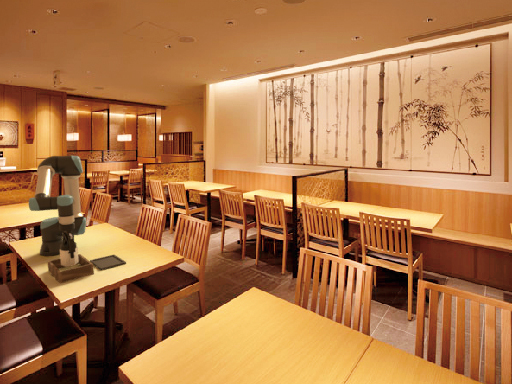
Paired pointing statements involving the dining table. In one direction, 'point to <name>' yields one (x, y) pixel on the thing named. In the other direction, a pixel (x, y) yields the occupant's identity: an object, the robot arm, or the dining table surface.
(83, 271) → the crate
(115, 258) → the tray
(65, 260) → the jar
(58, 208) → the robot arm
